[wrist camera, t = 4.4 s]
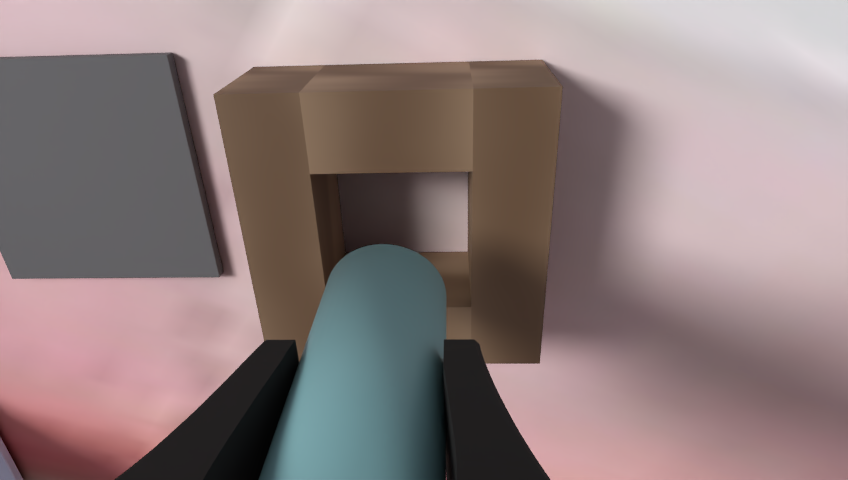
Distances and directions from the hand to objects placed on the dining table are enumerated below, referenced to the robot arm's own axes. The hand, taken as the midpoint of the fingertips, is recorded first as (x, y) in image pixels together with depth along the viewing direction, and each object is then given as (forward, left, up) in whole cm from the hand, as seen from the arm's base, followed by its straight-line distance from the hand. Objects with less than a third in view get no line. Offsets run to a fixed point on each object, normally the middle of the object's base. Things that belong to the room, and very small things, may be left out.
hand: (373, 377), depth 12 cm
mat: (-11, +1, -9) cm, 14 cm away
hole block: (0, 0, -9) cm, 9 cm away
